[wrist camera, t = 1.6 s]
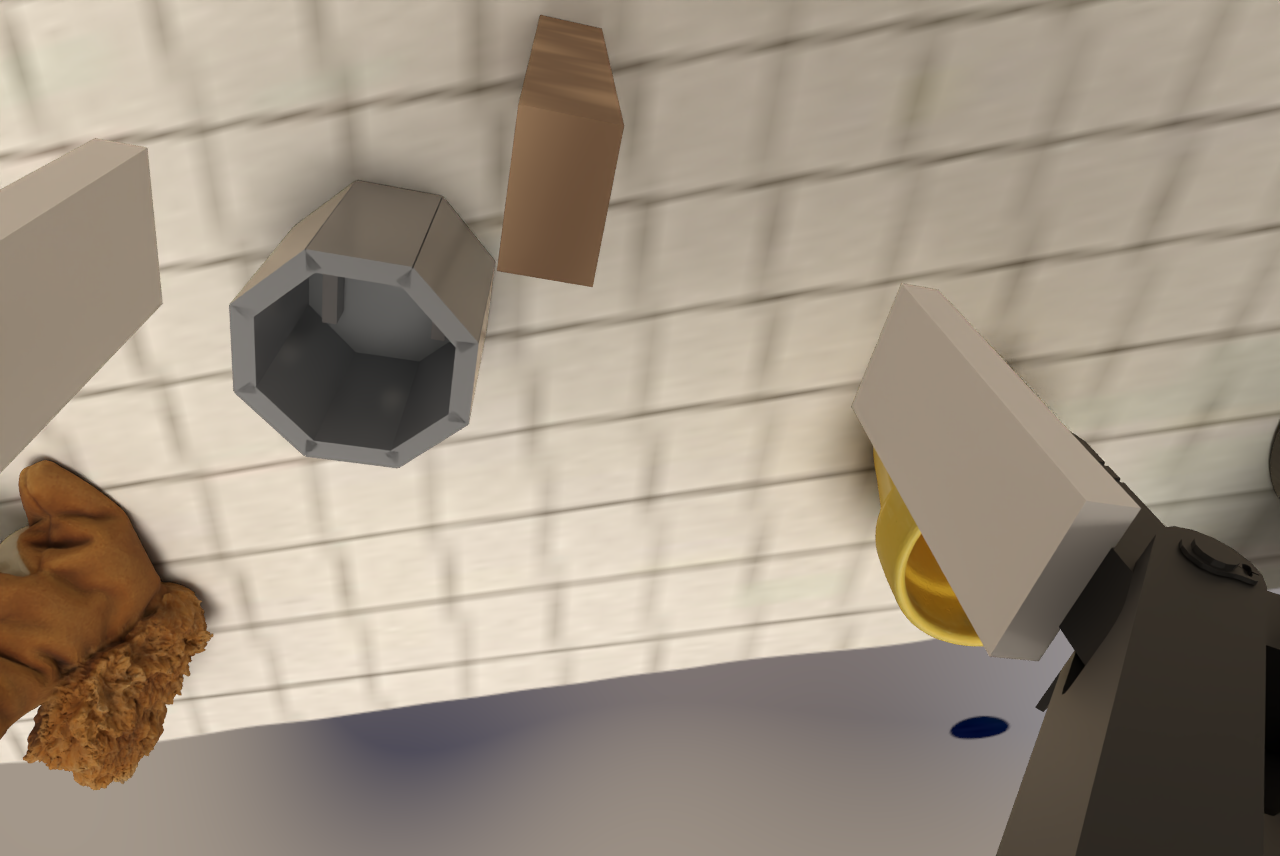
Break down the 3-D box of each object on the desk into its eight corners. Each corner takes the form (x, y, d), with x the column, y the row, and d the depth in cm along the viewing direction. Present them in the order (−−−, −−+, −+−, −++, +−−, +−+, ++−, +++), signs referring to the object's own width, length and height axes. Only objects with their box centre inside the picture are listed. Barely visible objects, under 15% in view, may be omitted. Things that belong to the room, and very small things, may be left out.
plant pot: (796, 439, 44) (849, 567, 35) (968, 314, 40) (1070, 422, 32) (901, 546, 48) (969, 680, 40) (1063, 441, 45) (1173, 564, 37)
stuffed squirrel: (33, 440, 41) (-168, 647, 29) (274, 596, 47) (183, 813, 36) (-74, 547, 43) (-293, 771, 32) (167, 680, 50) (52, 904, 39)
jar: (502, 206, 36) (486, 279, 29) (480, 379, 40) (462, 476, 34) (293, 168, 34) (225, 235, 28) (294, 351, 39) (236, 447, 32)
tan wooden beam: (601, 28, 32) (624, 125, 19) (583, 132, 34) (592, 287, 21) (540, 14, 32) (518, 103, 19) (525, 121, 34) (496, 270, 21)
